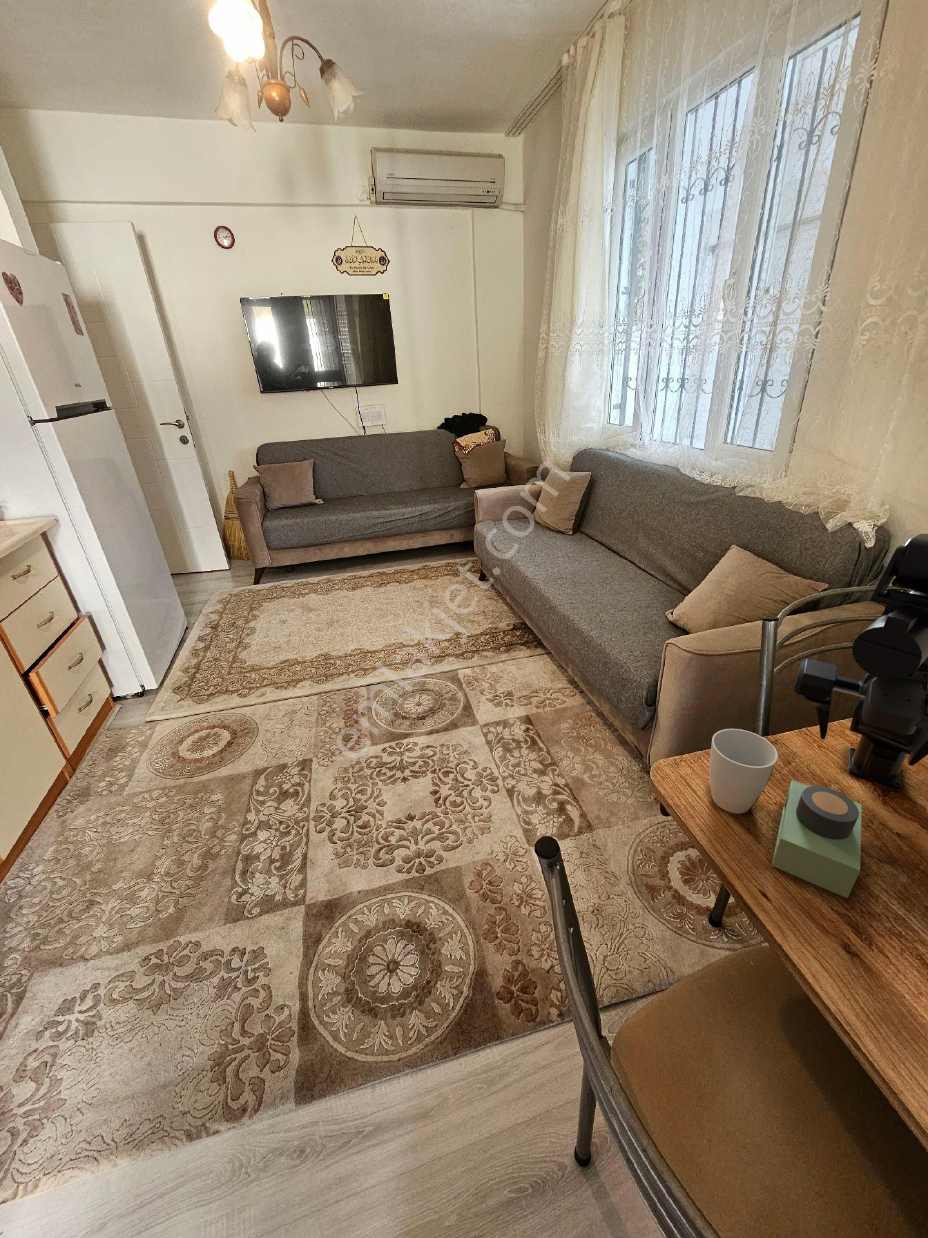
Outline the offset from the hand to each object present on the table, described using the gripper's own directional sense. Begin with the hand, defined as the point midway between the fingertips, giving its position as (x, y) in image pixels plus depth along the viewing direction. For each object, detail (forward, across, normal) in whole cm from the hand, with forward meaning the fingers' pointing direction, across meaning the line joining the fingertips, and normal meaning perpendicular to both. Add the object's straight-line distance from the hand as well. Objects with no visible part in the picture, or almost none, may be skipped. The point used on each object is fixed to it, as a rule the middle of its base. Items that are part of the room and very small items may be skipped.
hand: (864, 750), depth 66 cm
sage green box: (+12, -2, -8) cm, 15 cm away
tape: (+7, -2, -8) cm, 11 cm away
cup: (+12, -13, -5) cm, 18 cm away
